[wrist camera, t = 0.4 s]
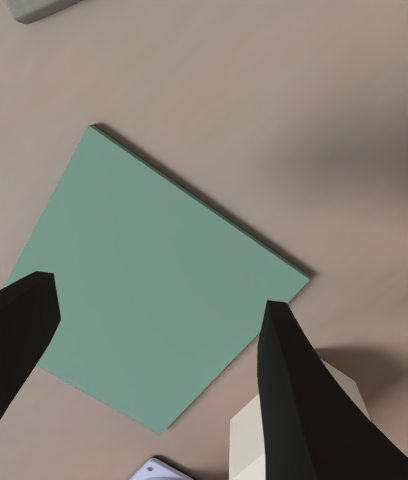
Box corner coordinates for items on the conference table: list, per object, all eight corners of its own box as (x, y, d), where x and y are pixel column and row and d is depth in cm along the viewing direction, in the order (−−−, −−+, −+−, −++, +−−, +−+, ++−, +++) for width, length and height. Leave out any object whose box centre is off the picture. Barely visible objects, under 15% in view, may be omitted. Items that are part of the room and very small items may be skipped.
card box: (274, 445, 28) (281, 511, 24) (230, 418, 28) (228, 482, 23) (353, 379, 25) (379, 441, 21) (305, 347, 25) (321, 405, 20)
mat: (161, 428, 29) (159, 435, 28) (-15, 328, 26) (-20, 333, 26) (308, 275, 22) (310, 280, 22) (92, 124, 20) (88, 125, 19)
